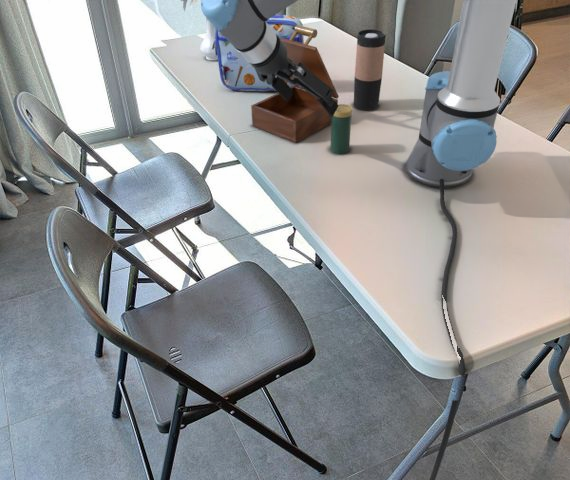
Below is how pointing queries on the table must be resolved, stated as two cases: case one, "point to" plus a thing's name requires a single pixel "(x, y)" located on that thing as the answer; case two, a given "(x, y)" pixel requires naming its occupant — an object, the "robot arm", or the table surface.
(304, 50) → the case lid
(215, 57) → the flower vase
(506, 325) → the table surface
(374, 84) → the travel mug
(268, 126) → the case
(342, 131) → the tea tin
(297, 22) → the lunch box
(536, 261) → the table surface
